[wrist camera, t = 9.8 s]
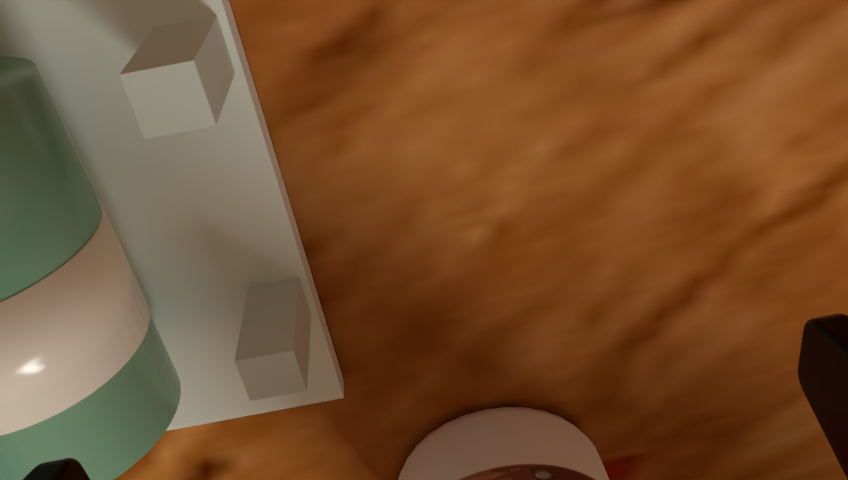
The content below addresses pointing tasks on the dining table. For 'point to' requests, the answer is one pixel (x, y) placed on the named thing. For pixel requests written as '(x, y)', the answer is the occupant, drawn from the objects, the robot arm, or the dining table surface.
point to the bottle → (68, 306)
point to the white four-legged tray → (188, 193)
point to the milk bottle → (505, 449)
